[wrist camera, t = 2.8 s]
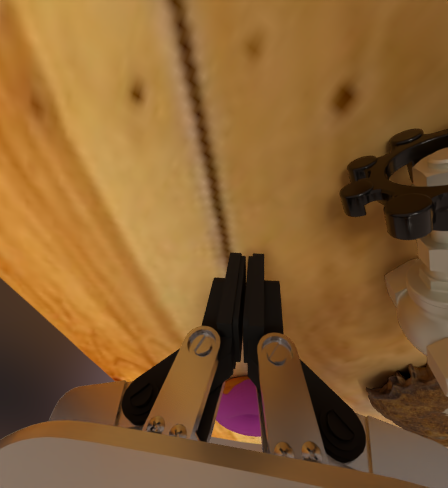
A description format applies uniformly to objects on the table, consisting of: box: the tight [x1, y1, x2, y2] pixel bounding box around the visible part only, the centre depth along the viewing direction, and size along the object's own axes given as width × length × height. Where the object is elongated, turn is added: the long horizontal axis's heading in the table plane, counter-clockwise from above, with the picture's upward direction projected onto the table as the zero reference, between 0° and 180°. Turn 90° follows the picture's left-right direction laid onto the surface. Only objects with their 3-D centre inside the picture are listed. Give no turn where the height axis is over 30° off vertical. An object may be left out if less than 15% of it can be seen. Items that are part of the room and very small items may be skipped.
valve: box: [340, 129, 448, 397], centre depth 10 cm, size 7×7×12 cm
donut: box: [216, 376, 261, 437], centre depth 28 cm, size 10×10×5 cm
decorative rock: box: [366, 363, 448, 447], centre depth 22 cm, size 11×4×15 cm
